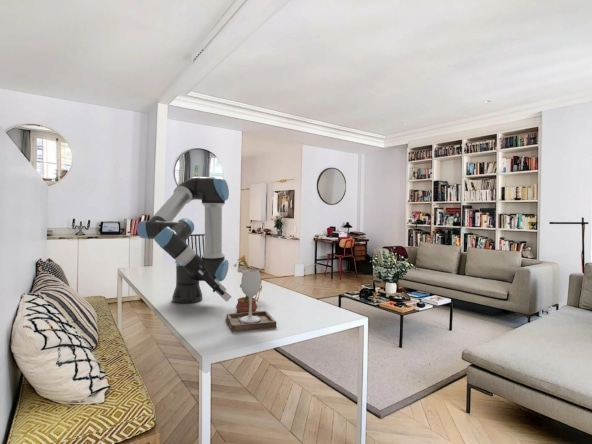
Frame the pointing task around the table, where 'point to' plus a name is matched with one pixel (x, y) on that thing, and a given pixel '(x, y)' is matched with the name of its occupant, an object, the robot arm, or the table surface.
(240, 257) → the yellow flower sprig
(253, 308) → the potted flower
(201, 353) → the table surface
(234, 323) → the wooden tray
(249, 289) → the wineglass
